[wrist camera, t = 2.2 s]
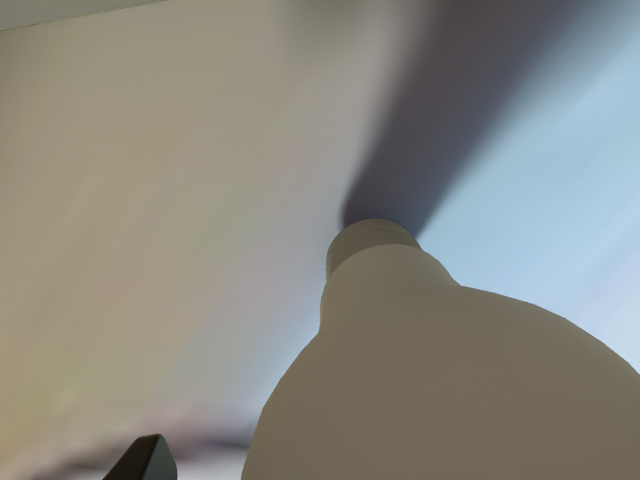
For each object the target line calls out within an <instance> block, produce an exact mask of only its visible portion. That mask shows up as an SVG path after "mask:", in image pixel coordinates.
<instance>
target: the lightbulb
mask: <svg viewBox="0 0 640 480" xmlns="http://www.w3.org/2000/svg"><path fill="white" fill-rule="evenodd" d="M326 281H327V283H326V285H325V288H324V291H323V294H322V297H321V304H320V327H319V332H318V334H317V335H316V336H315V337H314V338H313V339H312V340H311V341H310V343H309V344H308V345H307V346H306V347H305V348H304V349H303V350H302V351H301V352H300V354H299V355H298V356H297V358H296V359H295V361H294V362H293V363H292V365H291V366H290V367H289V369H288V370H287V371H286V373H285V374H284V375H283V377H282V378H281V379H280V381H279V382H278V384H277V386H276V387H275V389H274V391H273V392H272V394H271V396H270V397H269V399H268V401H267V402H266V404H265V406H264V407H263V410H262V413H261V416H260V418H259V421H258V424H257V427H256V430H255V433H254V436H253V439H252V442H251V445H250V448H249V452H248V455H247V458H246V461H245V464H244V468H243V471H242V476H241V480H640V375H639V374H638V373H637V372H636V370H635V369H634V368H633V367H632V366H631V365H630V364H629V363H628V362H627V361H625V360H624V359H623V358H622V357H620V356H619V355H618V354H616V353H615V352H614V351H613V350H611V349H610V348H609V347H607V346H606V345H605V344H604V343H602V342H601V341H600V340H598V339H596V338H595V337H593V336H592V335H590V334H589V333H587V332H586V331H584V330H583V329H581V328H579V327H578V326H576V325H575V324H573V323H572V322H570V321H569V320H567V319H566V318H563V317H561V316H559V315H557V314H554V313H552V312H550V311H548V310H546V309H543V308H541V307H539V306H537V305H534V304H531V303H528V302H524V301H521V300H517V299H514V298H510V297H507V296H503V295H500V294H496V293H493V292H488V291H484V290H479V289H474V288H470V287H465V286H461V285H460V284H458V283H457V282H456V281H455V280H454V279H453V278H452V277H451V275H450V274H449V273H448V271H447V270H446V269H445V268H444V266H443V265H442V264H441V263H440V262H439V261H438V260H437V259H435V258H434V257H433V256H431V255H430V254H428V253H427V252H424V251H423V250H422V249H421V247H420V245H419V244H418V242H417V241H416V240H415V239H414V238H413V237H412V235H411V234H410V233H409V232H408V231H407V230H406V229H405V228H404V227H402V226H401V225H400V224H398V223H395V222H393V221H390V220H386V219H378V218H372V219H365V220H361V221H358V222H355V223H353V224H351V225H350V226H348V227H346V228H345V229H344V230H342V231H341V232H340V233H339V234H338V235H337V236H336V237H335V239H334V240H333V242H332V243H331V245H330V247H329V250H328V253H327V259H326Z"/></svg>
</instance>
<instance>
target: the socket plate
mask: <svg viewBox="0 0 640 480" xmlns="http://www.w3.org/2000/svg"><path fill="white" fill-rule="evenodd" d="M160 1H165V0H0V31H2V30H7V29H12V28H18V27H23V26H29V25H34V24H40V23H45V22H51V21H56V20H62V19H67V18H72V17H78V16H83V15H89V14H94V13H100V12H105V11H111V10H116V9H121V8H127V7H132V6H138V5H143V4H149V3H154V2H160Z"/></svg>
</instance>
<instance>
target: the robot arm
mask: <svg viewBox="0 0 640 480" xmlns="http://www.w3.org/2000/svg"><path fill="white" fill-rule="evenodd" d="M102 480H177V467H176V463H175V461H174V459H173V456H172V454H171V452H170V449H169V447H168V445H167V442H166V440H165V438H164V436H163V435H161V434H152V435H147V436H141V437H139V438H137V439H136V440H135V441H134V442H133V443H132V445H131V446H130V447H129V448H128V449H127V451H126V452H125V453H124V454H123V455H122V457H121V458H120V459H119V460H118V461H117V463H116V464H115V465H114V466H113V467H112V469H111V470H110V471H109V472H108V473H107V475H106V476H105V477H104V478H103V479H102Z"/></svg>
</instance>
